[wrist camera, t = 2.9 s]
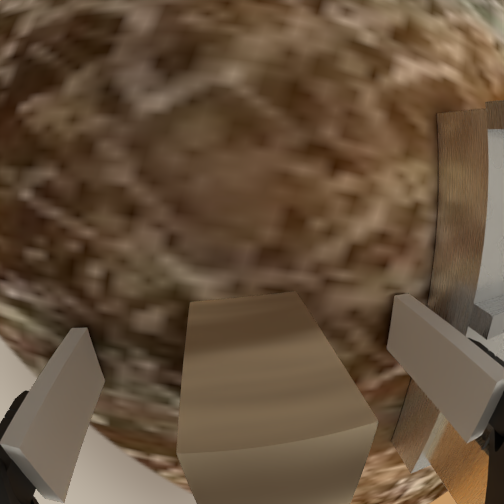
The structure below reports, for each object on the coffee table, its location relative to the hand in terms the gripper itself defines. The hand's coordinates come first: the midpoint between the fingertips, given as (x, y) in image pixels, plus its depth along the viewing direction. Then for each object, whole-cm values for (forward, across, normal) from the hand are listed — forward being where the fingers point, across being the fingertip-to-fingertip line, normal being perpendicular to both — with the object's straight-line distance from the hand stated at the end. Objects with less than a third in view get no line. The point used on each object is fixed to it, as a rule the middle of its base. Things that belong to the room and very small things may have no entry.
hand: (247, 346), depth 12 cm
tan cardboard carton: (0, 0, 0) cm, 0 cm away
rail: (0, +11, 0) cm, 11 cm away
